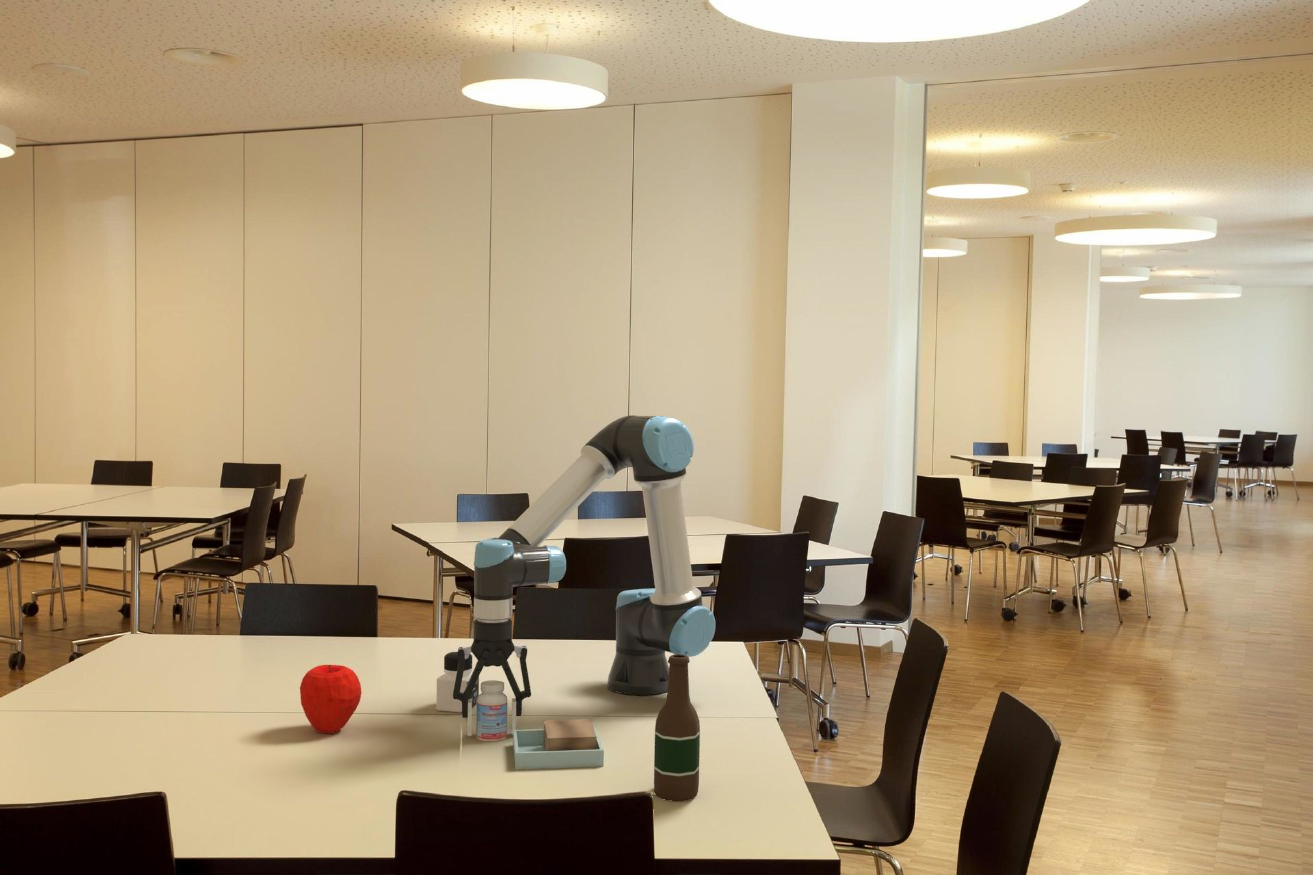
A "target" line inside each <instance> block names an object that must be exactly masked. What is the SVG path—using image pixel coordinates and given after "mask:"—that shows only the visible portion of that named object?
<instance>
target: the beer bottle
mask: <svg viewBox="0 0 1313 875" xmlns="http://www.w3.org/2000/svg"><path fill="white" fill-rule="evenodd" d="M690 661H691V660H690V657H688V656H685V655H681V654H671V655H670V656H668V660H667V663H668V666H669V677H668V690H667V693H666V698H665V702H664V704H663V705H662V706H661V708H660V710H659V712H658V714H657V717H656V720H655V727H654V760H653V761H654V764H653V765H654V767H653V788H654V789H653V790H654V794H656V796H657V797H658V798H660V799H661V800H662V799H665V800H664V801H668V800H672V801H671V802H676V801H681V802H685V800H686V801H691V800H690V799H692V800H694V799H695V798H696V796H697V795H698V793H699V784H700V751H701V750H700V748H701V747H700V745H701V743H700V742H701V740H700V739H701V737H700V736H701V727H700V726H701V724H700V718H699V715H698V713H697V710H696V708H695V707H694V706H693V704H692V703H691V702H692V701H691V698H690V680H689V664H690V663H691V662H690ZM696 794H697V795H696Z"/></svg>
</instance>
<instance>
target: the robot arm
mask: <svg viewBox="0 0 1313 875" xmlns="http://www.w3.org/2000/svg"><path fill="white" fill-rule="evenodd" d="M694 446H695V445H694V439H693V437H692V434H691V432H690V430H689V429H688V427H687V426H686V425H685V424H684V423H683V422H682V421H680V420H679V419H676V418H673V417H667V416H663V415H633V414H632V415H631V414H630V415H625V416H623V417H619V418H617V419H615V420H614V421H612V422H610V423H608V424H607V425H606V426H605V427H603V428H602V429H601V430H600V431H598V432H596V433H595V435H594V436H592V438H590V439H589V440H588V441H587V442H586V443H585V445H583V447H581V448H580V456H579V457H578V458H577V459H576V460H575V461H573V463H571V465H570V466H569V467H568V468H567V469H566V470H565V471H564V472H563V473H562V474H561V475H560V476H559V477H558V478H557V479H555V481H554V482H553V483H552V484H551V485H550V486H549V487H548V488H547V489H546V490H544V492H543V493H542V494H541V495H540V496H539V497H537V499H536V500H535V501H534V502H532V504H530V505H529V507H528V508H527V509H525V511H523V513H522V514H521V515H520V516H519V517H518V518H517V519H516V520H515V521H513V523H511V525H510V526H509V527H508V528H507V529H506V530H504V532H502V534H501V535H499V536H498V537H490V538H486V539H483V540H480V541H478V542H477V543H476V544H475V549H474V550H475V551H474V558H473V559H474V561H473V566H474V568H473V569H474V571H473V573H474V574H473V576H474V577H473V579H474V580H473V582H474V583H473V586H474V588H473V591H474V597H473V617H474V618H475V620H474V621H473V642H472V644H471V646H467V647H464V646H459V647H458V648H457V651H458V658H459V663H458V669H457V674H456V680H455V685H454V690H453V698H454V699H457V700H460V701H461V702H462V713H461V717H462V719H467V737H470V736H471V737H472V724H473V723H472V722H473V721H472V719H473V718H472V716H473V715H472V714H473V712H472V711H473V709H472V699H469V697H470V695H471V693H472V691H473V688H474V686H475V684H476V682H477V679H478V677H479V678H480V675H481V672H482V671H483V669H484V668H486V667H487V668H489V667H492V666H493V667H497V668H498V667H501V668H502V670H503V672H504V674H505V677H506V679H507V681H508V683H509V686H510V688H511V690H512V693H513V694H514V697H511V735H513V730H517V717H521V716H522V714H523V701H524V699H527V698H531V697H532V691H531V685H530V684H531V683H530V678H529V671H528V667H527V666H528V665H527V656H528V647H527V646H526V645H522V646H521V645H520V646H518V645H515V644H514V643H513V620H512V619H511V618H512V617H513V597H514V596H513V594H514V593H513V591H514V587H515V588H516V587H523V586H531V585H532V586H533V585H542V584H543V585H544V584H545V585H548V584H550V583H551V584H552V583H557V582H559V581H561V580H562V579H563V578H564V576H565V574H566V571H567V559H566V555H565V553H564V551H563V550H562V549H561V548H560V547H559V546H557V545H543V546H541V545H542V544H543V543H544V542H545V541H546V540H547V539H548V537H550V536H551V534H552V533H553V532H554V531H556V529H558V527H560V525H561V524H562V523H563V522H564V521H565V520H566V519H567V518H568V517H569V516H571V514H572V513H573V512H574V511H575V510H576V509H577V508H578V507H579V506H580V505H581V504H582V503H583V502H584V501H585V500H586V499H587V498H588V497H590V496H589V495H591V494H592V493H593V492H594V491H595V490H596V489H597V488H598V487H599V486H600V484H602V483H603V482H604V481H605V480H611V479H612V478H614V477H615V476H616V474H617V473H618V472H620V471H623V470H624V469H626V468H632V473H633V480H634V482H635V483H636V484H637V485H639V486H640V487H641V490H642V496H643V504H644V510H645V519H646V528H647V532H648V533H647V534H648V535H647V536H648V541H649V543H648V544H649V550H650V558H651V565H652V572H653V573H652V574H653V580H654V588H639V589H630V590H623V591H620V592H619V594H618V595H617V596H616V597H617V598H616V605H615V617H616V618H615V621H616V622H615V655H614V659H613V662H612V665H611V667H610V670H609V674H608V677H607V687H608V689H609V690H611V691H612V692H615V693H619V694H625V695H634V696H647V695H658V694H663V693H666V692H667V690H668V677H669V663H668V660H667V656H666V652H667V653H671V654H672V655H675V654H681V655H685V656H688V657H689V658H691V657H692V658H693V657H696V656H699V655H700V654H701V653H703V652H704V651H705V650H706V649H707V648H708V647H709V645H710V642H712V640H713V639H714V636H715V632H716V619H715V616H714V613H713V611H711V610H710V609H709V608H708V607H706V606H704V603H703V597H702V591H701V590H700V589H699V588H697V587H696V586H695V585H694V580H693V572H692V564H691V557H690V549H689V548H690V546H689V540H688V532H687V522H686V516H685V508H684V507H685V506H684V499H683V492H682V484H681V482H682V481H683V479H684V478H685V477H686V475H687V467H688V465H690V463H691V458H693V455H694V451H695V450H694V449H695V448H694ZM513 653H515V654H516V655H515V657H516V658H518V659H519V664H520V666H519V667H520V672H521V677H522V684H523V689H524V690H521V689H520V686H519V685H518V682H517V680H516V677H515V675H514V673H513V671H512V669H511V666H510V663H509V661H508V660H509V658H510V656H511V655H512V654H513ZM469 654H473V656H474V658H476V664H475V666H474V669H473V670H472V672H473V673H472V675H471V677H470V679H469V682H468V684H467V686H466V688H465V690H464V693H462V692H460V688H461V683H462V678H463V672H464V667H465V659H467V658H468V657H469Z"/></svg>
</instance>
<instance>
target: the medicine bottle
mask: <svg viewBox="0 0 1313 875" xmlns="http://www.w3.org/2000/svg"><path fill="white" fill-rule="evenodd" d="M458 663H459V658H458V650H457V651H450V652H448V653H446V654H445V655H444V657H443V674H441V675H440V676H438V677H437V678H436V704H435V705H436V706H435V709H436V711H439V712H447V713H448V712H449V713H461V714H462V702H461V701H460V700H457V699H454V698H453V690H454V685H455V680H456V674H457V669H458ZM472 673H473V655H472V653H470V654H469V657H468V658H467V659H465V667H464V672H463V678H462V683H461V688H460V692H462V693H464V690H465V688H466V686H467V684H468V682H469V679H470V677H471V675H472ZM479 690H480V676H479V677H478V679H477V682H476V684H475V686H474V688H473V691H472V693H471V695H470V697H469V699H472V710H473V709H474V708H476V707H477V697H478V696H479V695H480V692H479Z"/></svg>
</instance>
